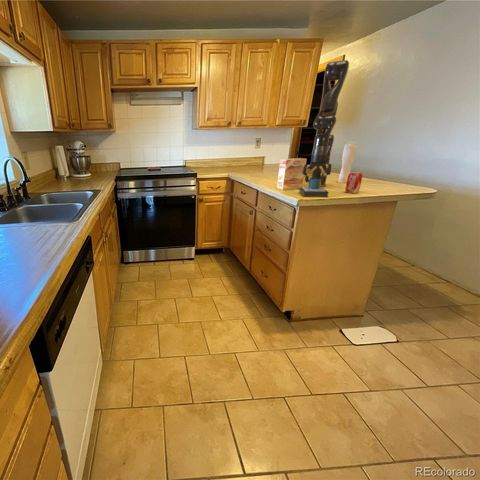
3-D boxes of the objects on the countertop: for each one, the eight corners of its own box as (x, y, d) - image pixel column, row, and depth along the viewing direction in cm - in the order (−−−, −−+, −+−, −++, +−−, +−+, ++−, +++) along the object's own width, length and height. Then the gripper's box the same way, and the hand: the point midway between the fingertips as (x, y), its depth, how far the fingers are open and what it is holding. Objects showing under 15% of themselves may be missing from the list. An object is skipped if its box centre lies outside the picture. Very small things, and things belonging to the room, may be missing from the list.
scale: (298, 192, 168) (299, 187, 167) (321, 192, 165) (322, 187, 164) (303, 196, 156) (304, 191, 155) (328, 197, 152) (329, 192, 151)
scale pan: (302, 189, 165) (302, 186, 165) (320, 189, 163) (320, 186, 162) (305, 192, 156) (306, 189, 156) (325, 192, 154) (325, 189, 153)
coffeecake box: (282, 190, 176) (286, 159, 169) (276, 188, 183) (279, 159, 176) (302, 188, 179) (307, 158, 172) (295, 186, 185) (299, 157, 178)
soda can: (360, 193, 157) (365, 172, 153) (347, 193, 159) (352, 173, 154) (355, 191, 164) (359, 171, 159) (342, 191, 165) (346, 171, 161)
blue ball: (306, 187, 162) (308, 177, 160) (318, 187, 161) (320, 177, 159) (309, 189, 157) (310, 179, 155) (321, 189, 155) (322, 178, 153)
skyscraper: (346, 183, 188) (354, 141, 178) (334, 182, 194) (342, 141, 184) (351, 182, 192) (360, 141, 182) (340, 181, 198) (348, 141, 188)
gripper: (331, 152, 153) (326, 181, 159) (304, 153, 157) (300, 181, 163) (335, 153, 147) (330, 183, 152) (307, 154, 150) (302, 183, 156)
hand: (314, 182), depth 158 cm, fingers open, 8 cm apart
